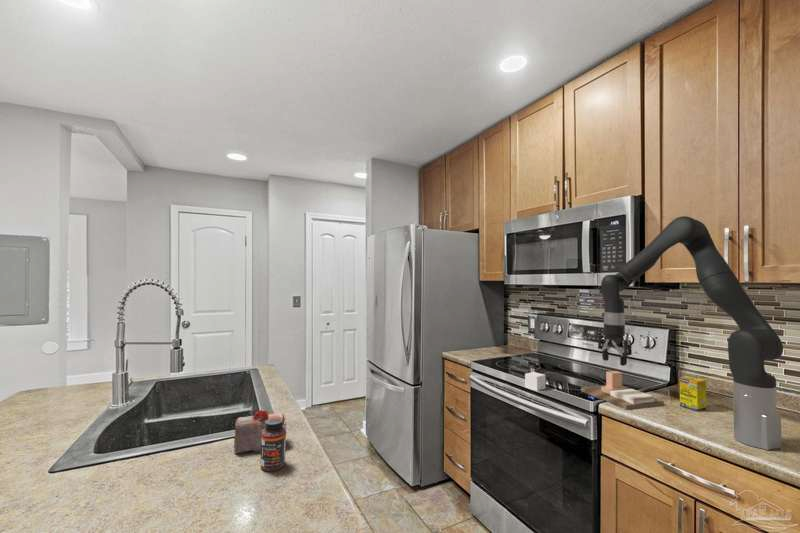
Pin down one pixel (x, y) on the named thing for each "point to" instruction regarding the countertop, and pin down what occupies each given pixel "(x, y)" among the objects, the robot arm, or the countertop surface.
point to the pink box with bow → (252, 430)
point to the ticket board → (616, 400)
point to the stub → (613, 381)
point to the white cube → (535, 381)
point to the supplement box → (693, 393)
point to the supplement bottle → (273, 445)
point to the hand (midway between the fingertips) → (614, 362)
